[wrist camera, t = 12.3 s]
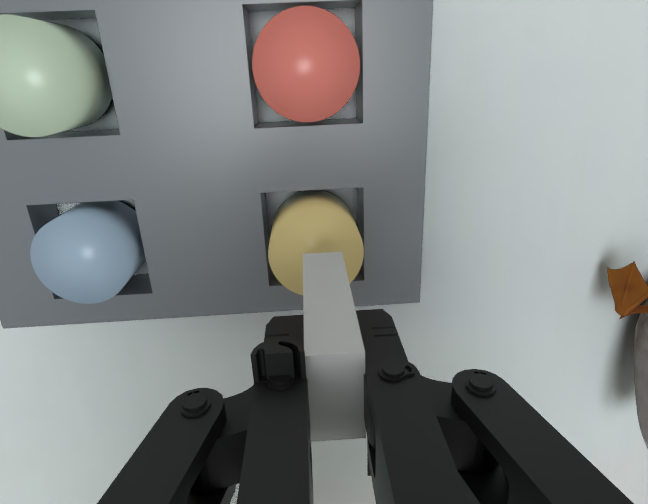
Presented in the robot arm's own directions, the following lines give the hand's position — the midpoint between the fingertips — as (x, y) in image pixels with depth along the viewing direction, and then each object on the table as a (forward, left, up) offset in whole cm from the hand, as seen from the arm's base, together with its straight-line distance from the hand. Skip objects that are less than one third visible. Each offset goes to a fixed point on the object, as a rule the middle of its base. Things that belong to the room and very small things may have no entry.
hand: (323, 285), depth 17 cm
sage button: (-11, +8, -7) cm, 15 cm away
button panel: (-6, +4, -8) cm, 11 cm away
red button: (0, +8, -8) cm, 11 cm away
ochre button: (0, 0, -7) cm, 7 cm away
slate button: (-11, 0, -8) cm, 13 cm away
